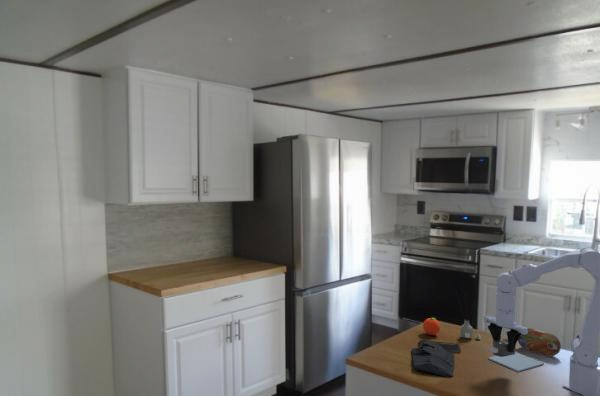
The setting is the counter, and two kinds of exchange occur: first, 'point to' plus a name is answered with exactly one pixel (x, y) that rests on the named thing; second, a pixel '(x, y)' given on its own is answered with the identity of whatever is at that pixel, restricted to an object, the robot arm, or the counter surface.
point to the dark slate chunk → (433, 359)
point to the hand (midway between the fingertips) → (504, 349)
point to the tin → (540, 342)
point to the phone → (444, 346)
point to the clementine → (431, 326)
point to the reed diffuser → (467, 323)
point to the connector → (501, 348)
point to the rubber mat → (516, 362)
